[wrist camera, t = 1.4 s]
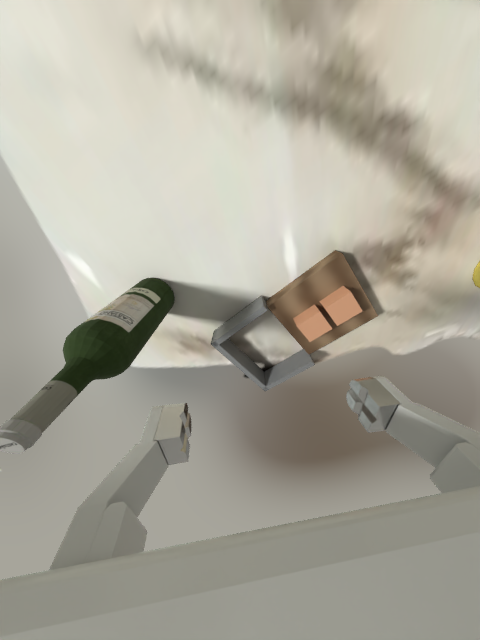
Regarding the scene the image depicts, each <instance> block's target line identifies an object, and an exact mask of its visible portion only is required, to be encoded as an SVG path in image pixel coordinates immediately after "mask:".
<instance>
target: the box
mask: <svg viewBox="0 0 480 640" xmlns="http://www.w3.org/2000/svg"><path fill="white" fill-rule="evenodd" d="M266 311H267V307H266V302H265V299H264V298H263V297H262V296H260V297H259V298H258V299H256V300H255V301H254V302H252V303H251V304H250V305H248V306H247V307H245V308H244V309H243V310H241V311H240V312H239V313H237V314H236V315H235V316H233V317H232V318H231V319H229V320H228V321H227V322H225V323H224V324H223V325H221V326H220V327H219V328H217V329H216V330H215V331H214V333H213V337H212V341H211V345H212V346H213V347H215V348H216V349H217V350H218V351H219V352H220V353H221V354H223V355H224V356H225V357H226V358H227V359H228V360H230V361H231V362H232V363H233V364H234V365H235V366H236V367H238V368H239V369H240V370H241V371H242V372H243V373H244V374H246V375H247V376H248V377H249V378H250V379H251V380H253V381H254V382H255V383H256V384H257V385H258V386H259V387H261V388H262V389H263V390H264V391H267V390H269V389H270V388H272V387H274V386H276V385H278V384H280V383H282V382H284V381H285V380H287V379H289V378H291V377H293V376H295V375H297V374H298V373H300V372H302V371H304V370H305V369H308V368H310V367H312V366H314V365H315V364H314V362H313V359H312V357H311V355H310V354H308V353H307V352H306V351H305V350H304V349H303V350H301V351H299V352H297V353H296V354H294V355H292V356H291V357H289V358H287V359H285V360H284V361H282V362H280V363H278V364H277V365H275V366H273V367H272V368H270V369H268V370H266V371H265V372H264V371H263V370H262V369H261V368H259V367H258V366H257V365H256V364H255V363H254V362H253V361H252V360H251V359H250V358H249V357H248V356H247V355H246V354H245V353H243V352H242V351H241V350H240V349H239V348H238V347H237V346H236V345H235V344H234V343H233V342H232V341H231V340H229V339H228V338H229V337H230V336H232V335H233V334H235V333H236V332H238V331H239V330H240V329H242V328H243V327H245V326H246V325H247V324H249V323H250V322H252V321H253V320H254V319H256V318H257V317H259V316H260V315H262V314H263V313H264V312H266Z"/></svg>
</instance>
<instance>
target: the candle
mask: <svg viewBox="0 0 480 640" xmlns="http://www.w3.org/2000/svg"><path fill="white" fill-rule="evenodd" d="M473 281H474V284H475V286H477V287H479V288H480V261H479V263H478V265H477V266H476V268H475V269H474V274H473Z"/></svg>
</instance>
